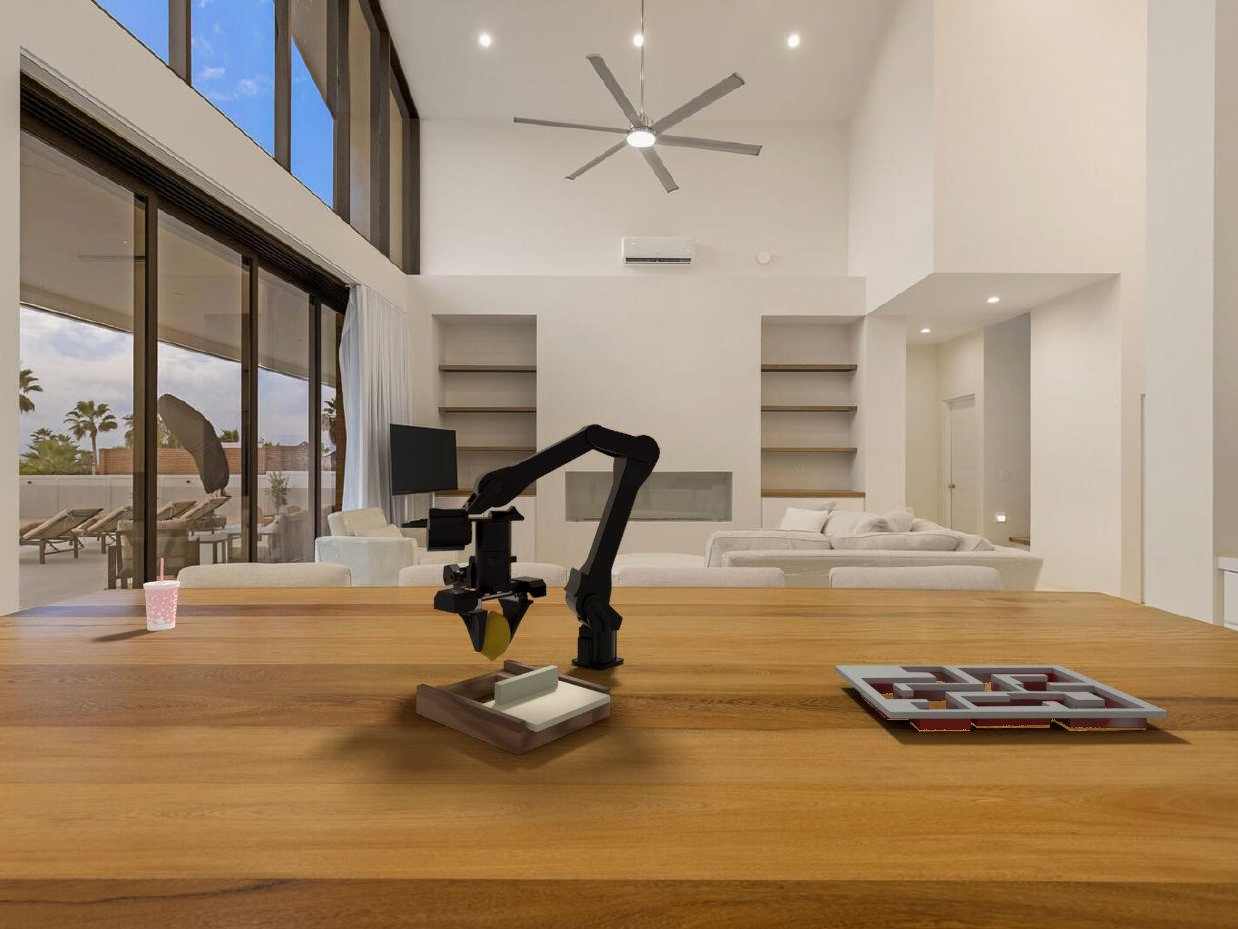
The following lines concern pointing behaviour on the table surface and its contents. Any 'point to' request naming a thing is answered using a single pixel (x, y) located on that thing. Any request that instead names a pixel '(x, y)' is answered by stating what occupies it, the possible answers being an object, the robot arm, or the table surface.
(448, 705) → the sliding lid box
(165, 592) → the beverage cup
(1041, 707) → the maze game
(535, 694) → the cover
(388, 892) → the table surface
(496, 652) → the lemon
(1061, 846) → the table surface
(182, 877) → the table surface
